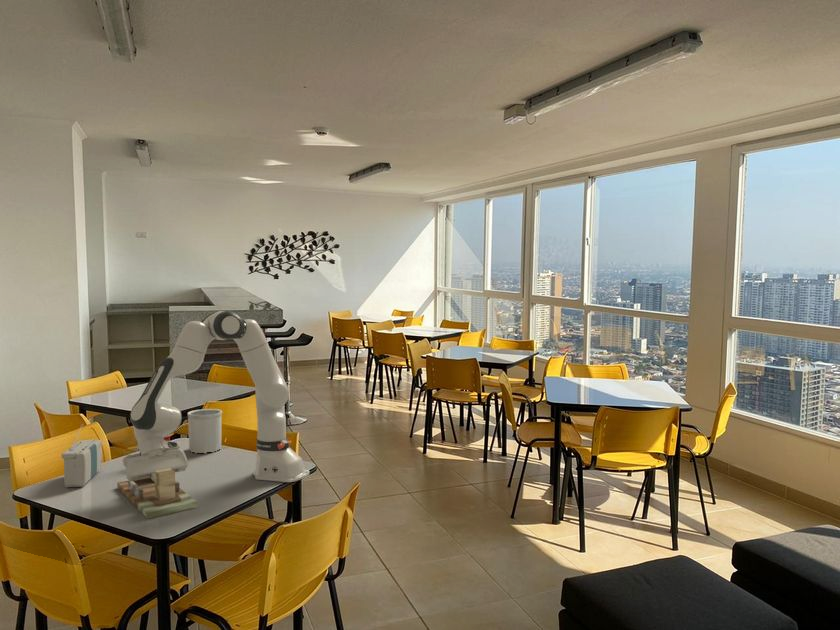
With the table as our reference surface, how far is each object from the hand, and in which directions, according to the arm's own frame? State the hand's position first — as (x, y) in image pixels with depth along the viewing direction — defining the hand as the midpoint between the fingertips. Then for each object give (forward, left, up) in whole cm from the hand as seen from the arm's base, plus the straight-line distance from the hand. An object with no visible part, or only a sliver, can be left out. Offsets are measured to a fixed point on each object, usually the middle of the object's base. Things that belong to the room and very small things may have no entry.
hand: (162, 485), depth 208 cm
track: (+7, -3, -6) cm, 10 cm away
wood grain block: (-3, +1, -4) cm, 5 cm away
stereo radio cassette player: (+47, -5, -7) cm, 48 cm away
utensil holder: (+35, -57, -7) cm, 67 cm away
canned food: (+37, -33, -7) cm, 50 cm away
